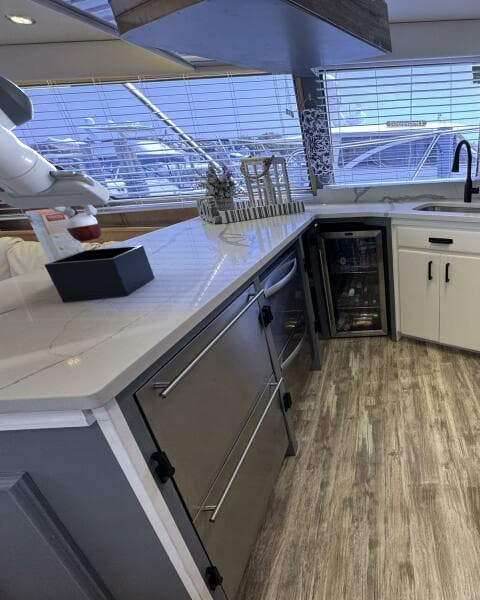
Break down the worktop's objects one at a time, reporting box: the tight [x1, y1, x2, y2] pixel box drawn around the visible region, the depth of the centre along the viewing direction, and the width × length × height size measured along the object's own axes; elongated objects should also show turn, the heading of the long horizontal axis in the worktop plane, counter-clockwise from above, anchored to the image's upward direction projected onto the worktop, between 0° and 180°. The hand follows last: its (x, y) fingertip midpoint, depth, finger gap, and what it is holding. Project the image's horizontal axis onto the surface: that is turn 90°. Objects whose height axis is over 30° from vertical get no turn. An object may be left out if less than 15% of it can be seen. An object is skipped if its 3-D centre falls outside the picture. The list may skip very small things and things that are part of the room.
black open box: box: [44, 245, 156, 304], centre depth 87 cm, size 15×15×10 cm
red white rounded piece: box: [65, 206, 102, 242], centre depth 81 cm, size 10×6×12 cm, turn 35°
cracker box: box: [25, 208, 85, 263], centre depth 92 cm, size 14×6×21 cm, turn 58°
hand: (82, 213), depth 81 cm, fingers closed on red white rounded piece, 4 cm apart
